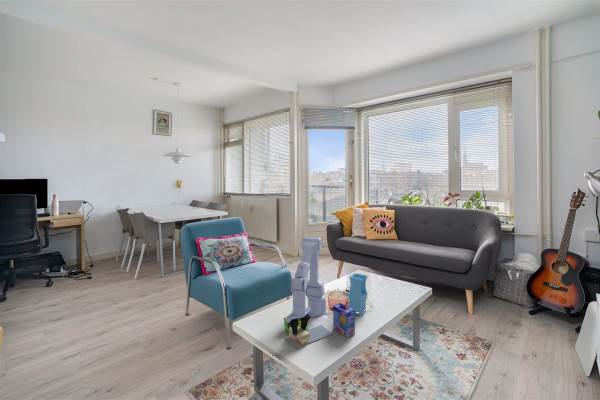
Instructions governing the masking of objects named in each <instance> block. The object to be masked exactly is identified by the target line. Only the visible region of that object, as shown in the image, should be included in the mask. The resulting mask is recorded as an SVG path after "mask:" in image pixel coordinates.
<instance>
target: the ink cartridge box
mask: <svg viewBox="0 0 600 400" xmlns="http://www.w3.org/2000/svg"><path fill="white" fill-rule="evenodd" d="M332 308H333V309H332V310H333V311H332V315H333V317H332V326H333V327H332V328H333V331H336V332H337V333H339V334H341V335H342V336H344V337H346V338H349V337H351V336H353V335H356V325H355V324H356V319H355V318H356V316H355V315H356V314H355V310H354V309H352V308H350V307H349V305H348V306H347V305H346V304H344V303H341V302H338V303H337V304H333V305H332Z"/></svg>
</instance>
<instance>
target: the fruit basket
mask: <svg viewBox="0 0 600 400" xmlns="http://www.w3.org/2000/svg"><path fill="white" fill-rule="evenodd" d="M286 317H287V316H285V317H283V325H284V330H286V331H287V333H289V328H290V327H291V325H290V323H288V322H286ZM296 320H297V321H298V322H299V324H298V326H299V327H300V328H301V320H300V318H296ZM306 331H308V323H307V326H306Z"/></svg>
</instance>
